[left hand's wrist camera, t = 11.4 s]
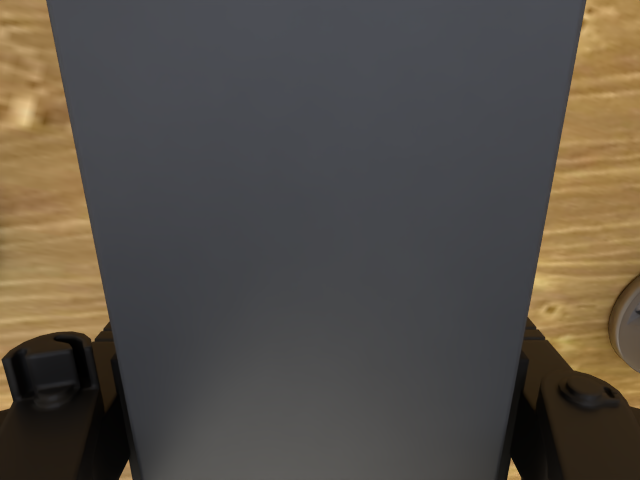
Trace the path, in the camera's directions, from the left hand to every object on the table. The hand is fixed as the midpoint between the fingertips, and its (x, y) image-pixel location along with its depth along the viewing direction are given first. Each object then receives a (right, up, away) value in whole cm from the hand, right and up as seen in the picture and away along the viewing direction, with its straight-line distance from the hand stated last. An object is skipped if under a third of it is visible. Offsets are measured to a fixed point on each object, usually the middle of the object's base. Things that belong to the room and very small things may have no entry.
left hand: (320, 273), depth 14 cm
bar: (0, +25, -9) cm, 26 cm away
